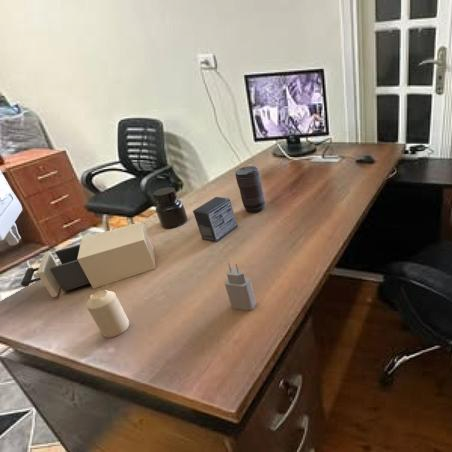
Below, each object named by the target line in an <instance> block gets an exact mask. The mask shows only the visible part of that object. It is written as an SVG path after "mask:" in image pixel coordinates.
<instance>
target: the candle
mask: <svg viewBox="0 0 452 452" xmlns="http://www.w3.org/2000/svg"><path fill="white" fill-rule="evenodd" d="M85 306H86V309H87V310H88V312H89V314H90V315H91V317H92V319H93V321H94V322H95V324H96V326H97V328H98V329H99V331H100V333H101V334H102V336H103V337H104V338H107V339H108V338H109V339H110V338H115V337H118V336H120V335H121V334H123V333H124V332H126V331H127V330H128V329H129V327H130V320H129V318H128V316H127V314H126V312H125V310H124V308H123V306H122V305H121V302H120V300H119V298H118V297H117V294H116V293H115V292H114V291H111V290H106V289H100V290H97V291H96V292H95V293H91V295H89V298H88V300H87V302H86V304H85Z"/></svg>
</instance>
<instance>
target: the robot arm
mask: <svg viewBox="0 0 452 452" xmlns="http://www.w3.org/2000/svg"><path fill="white" fill-rule="evenodd" d="M22 212H23V206H22V204H21V201H20V200H19V198H18V197H17V195H16V194H15V193H14V191H13V190H12V188H11V186H10V184H9V183H8V180H7V179H6V178H5V175H4V173H3V172H2V170H1V169H0V242H2V241H4V240H5V241H6V242H7V244H8V245H9V246H15V245H18V244H19V243H20V241H21V239H22V237H21V235H20V233H19V231H18V227H17V223H16V221H17V220H18V218H19V216H20V215H21V213H22Z"/></svg>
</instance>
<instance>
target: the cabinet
mask: <svg viewBox="0 0 452 452" xmlns="http://www.w3.org/2000/svg"><path fill="white" fill-rule="evenodd" d="M77 260H78V262H79V263H80V265H81V267H82V269H83V271H84V273H85V274H86V276H87V278H88V280H89V282H90V283H89V284H90V285H91V288H92V289H96V288H100V287H102V286H106V285H109V284H112V283H115V282H118V281H121V280H125V279H128V278H131V277H134V276H137V275H140V274H144V273H146V272H149V271H153V270H155V269H156V268H157V267H156V266H157V265H156V261H155V260H156V259H155V254H154V247H153V245H152V243H151V241H150V238H149V235H148V233H147V230H146V228H145V226H144V223H143V221H139V222H135V223H131V224H129V225H125V226H124V225H123V226H122V227H117V228H113V229H110V230H107V231H103V232H99V233H96V234H92V235H87V236H85V237H84V236H83V237H81V240H80V249H79V253H78V258H77Z"/></svg>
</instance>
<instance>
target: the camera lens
mask: <svg viewBox="0 0 452 452" xmlns="http://www.w3.org/2000/svg"><path fill="white" fill-rule="evenodd" d="M234 173H235V180H236V184H237V187H238V189H239V194H240V198H241V202H242V205H243V208H245V211H246V213H251V214H254V213H255V214H256V213H258V212H259V213H260V212H261V211H263V210H265V204H266V201H265V194H264V190H263V186H262V178H261V174H260V170H259V168H258V167H257V166H253V165H251V166H250V165H247V166H243V167H241V168H237V170H235V171H234Z"/></svg>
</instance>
